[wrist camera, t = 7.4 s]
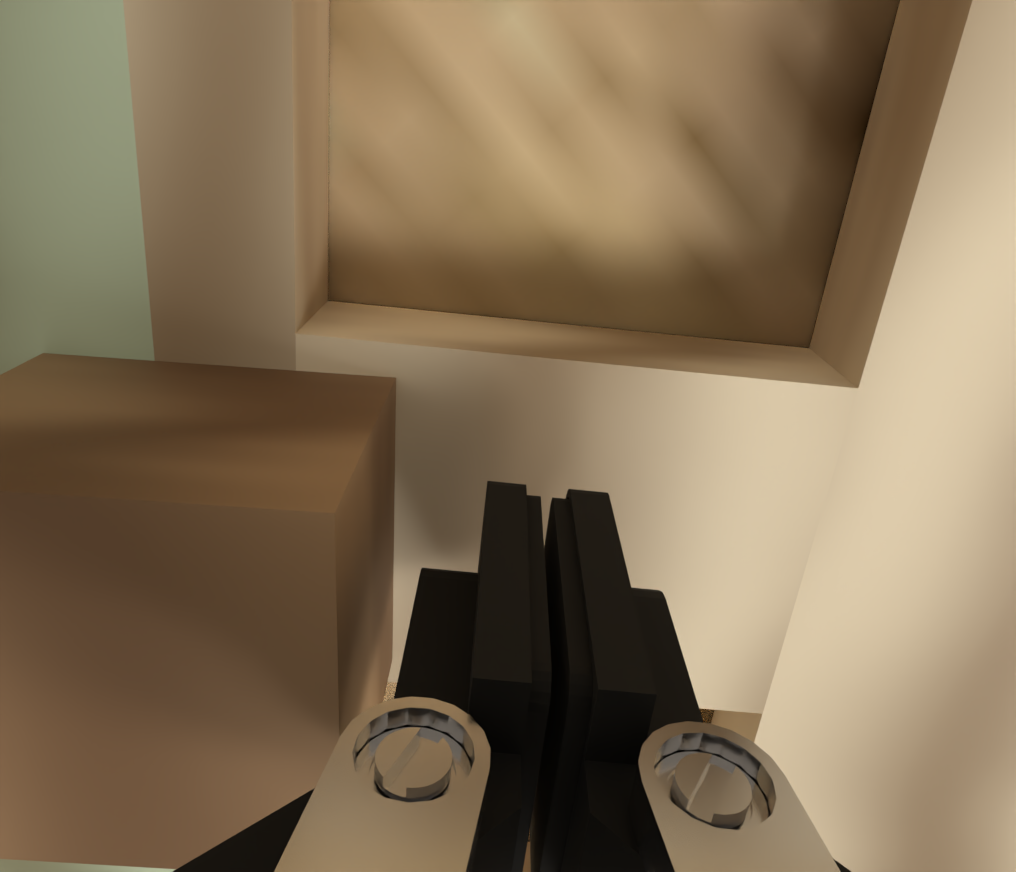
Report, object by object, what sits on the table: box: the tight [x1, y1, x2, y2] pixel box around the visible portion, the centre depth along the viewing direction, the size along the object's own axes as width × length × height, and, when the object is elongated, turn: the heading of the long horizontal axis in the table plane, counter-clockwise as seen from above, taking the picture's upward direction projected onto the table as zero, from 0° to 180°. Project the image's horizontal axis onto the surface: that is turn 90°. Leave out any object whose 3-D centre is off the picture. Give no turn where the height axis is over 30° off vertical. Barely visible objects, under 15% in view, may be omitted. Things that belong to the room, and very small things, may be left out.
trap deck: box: [0, 0, 1016, 872], centre depth 12 cm, size 26×20×4 cm
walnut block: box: [0, 353, 396, 869], centre depth 10 cm, size 5×5×4 cm
